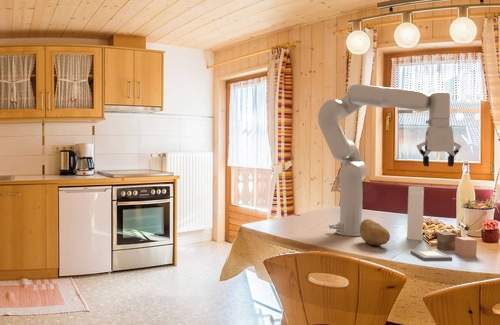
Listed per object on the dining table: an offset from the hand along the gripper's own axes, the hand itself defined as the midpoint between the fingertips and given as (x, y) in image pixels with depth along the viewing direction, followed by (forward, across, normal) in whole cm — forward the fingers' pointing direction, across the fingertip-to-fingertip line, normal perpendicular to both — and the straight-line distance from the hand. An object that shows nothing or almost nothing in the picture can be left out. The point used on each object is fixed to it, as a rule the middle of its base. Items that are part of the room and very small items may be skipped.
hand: (438, 166), depth 175 cm
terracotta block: (+31, +2, -20) cm, 37 cm away
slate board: (+31, -12, -23) cm, 40 cm away
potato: (+31, -27, -6) cm, 42 cm away
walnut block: (+31, -1, -11) cm, 33 cm away
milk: (+31, -6, +7) cm, 32 cm away
